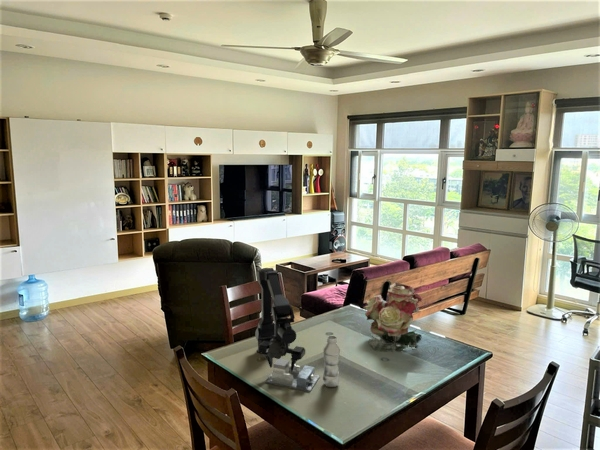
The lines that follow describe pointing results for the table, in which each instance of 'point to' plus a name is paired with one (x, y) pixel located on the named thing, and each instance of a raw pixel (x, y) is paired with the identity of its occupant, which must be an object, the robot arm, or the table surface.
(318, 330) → the table surface
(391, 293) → the rose bouquet
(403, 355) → the table surface
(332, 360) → the plastic bottle
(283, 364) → the grey rectangular block
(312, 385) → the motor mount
